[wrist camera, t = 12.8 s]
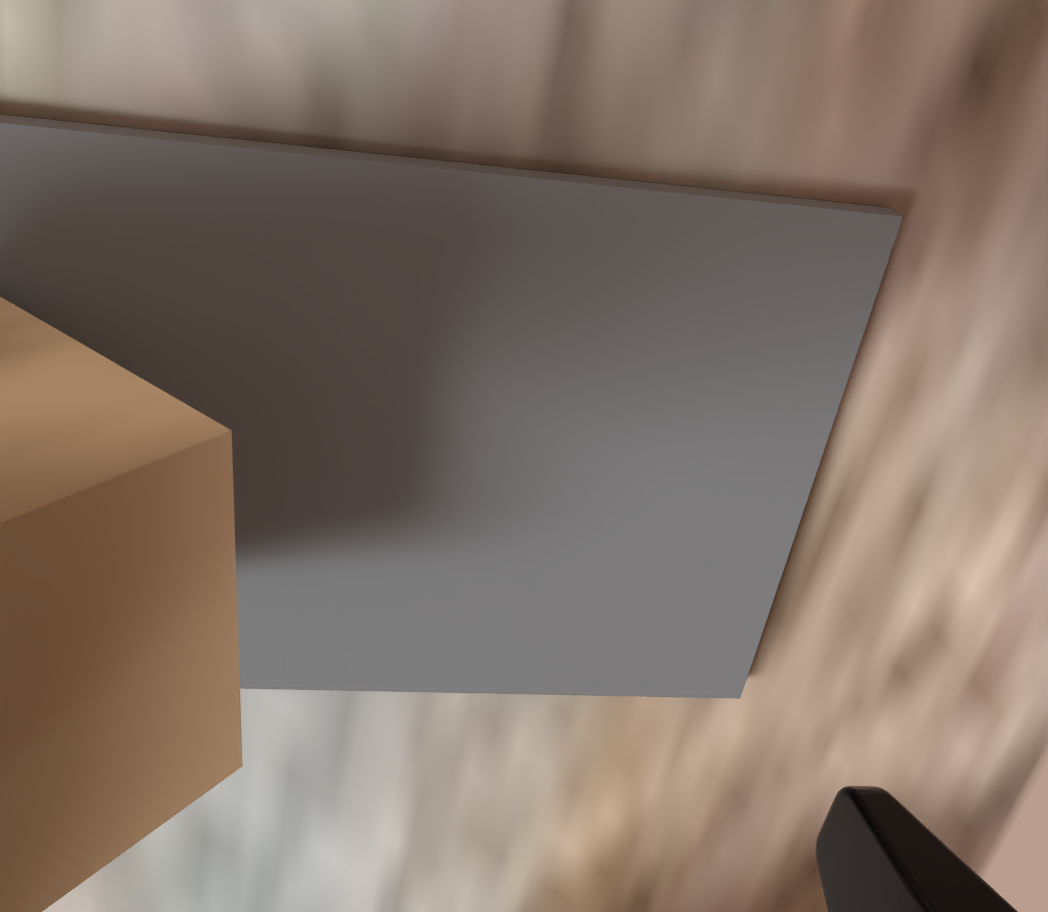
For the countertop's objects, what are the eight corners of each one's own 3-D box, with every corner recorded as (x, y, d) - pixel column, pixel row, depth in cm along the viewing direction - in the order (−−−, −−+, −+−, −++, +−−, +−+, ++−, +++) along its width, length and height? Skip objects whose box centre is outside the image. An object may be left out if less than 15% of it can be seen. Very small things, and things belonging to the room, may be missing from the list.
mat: (890, 208, 13) (903, 216, 13) (733, 682, 18) (740, 698, 17) (-745, 35, 10) (-785, 41, 10) (-425, 656, 15) (-445, 674, 14)
